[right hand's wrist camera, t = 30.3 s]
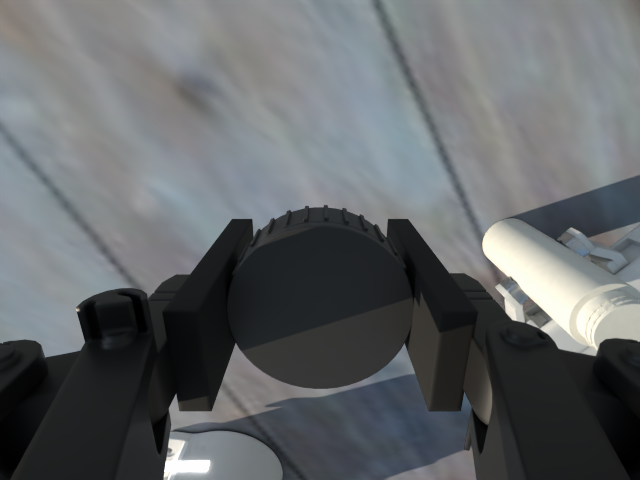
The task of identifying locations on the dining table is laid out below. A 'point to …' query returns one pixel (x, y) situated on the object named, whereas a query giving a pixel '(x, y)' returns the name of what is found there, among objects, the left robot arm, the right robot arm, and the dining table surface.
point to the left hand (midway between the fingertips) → (535, 261)
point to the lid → (320, 299)
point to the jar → (565, 283)
